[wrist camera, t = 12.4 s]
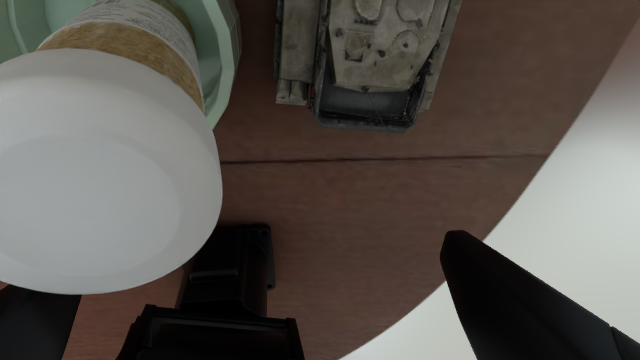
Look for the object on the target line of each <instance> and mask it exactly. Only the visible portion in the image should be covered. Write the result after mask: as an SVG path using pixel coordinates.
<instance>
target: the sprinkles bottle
mask: <svg viewBox="0 0 640 360" xmlns="http://www.w3.org/2000/svg"><path fill="white" fill-rule="evenodd" d="M222 196H223V193H222V178H221V171H220V163H219V157H218V151H217V146H216V141H215V138H214V134H213V131H212V129H211V127H210V125H209V123H208V121H207V119H206V117H205V116H204V101H203V93H202V86H201V79H200V72H199V66H198V59H197V54H196V44H195V33H194V30H193V28H192V26H191V24H190V21H189V19H188V17H187V16H186V14H185V13H184V11H183V10H182V9H181V8H180V7H179V6H178V5H177V4H176V3H175V2H174V1H173V0H97V1H96V2H95V3H93V4H91V5H90V6H89V7H87V8H86V9H85V10H83V11H82V12H81V13H79V14H78V15H77V16H75V17H74V18H73V19H72V20H70V21H69V22H68V23H66V24H65V25H64V26H63V27H61V28H60V29H59V30H57V31H56V32H54V33H53V34H52V35H50V36H49V37H48V38H46V39H45V40H44V41H43V42H42V43H41V44H40V45H39V47H38V48H37V49H36V51H35V52H32V53H28V54H23V55H21V56H18V57H16V58H13V59H11V60H8V61H6V62H4V63H2V64H0V281H3V282H6V283H9V284H12V285H15V286H19V287H23V288H27V289H32V290H36V291H42V292H49V293H57V294H70V295H71V294H99V293H108V292H114V291H120V290H125V289H129V288H133V287H137V286H140V285H143V284H145V283H148V282H151V281H154V280H156V279H158V278H160V277H163V276H164V275H166V274H168V273H170V272H172V271H173V270H175V269H177V268H178V267H180V266H181V265H183V264H184V263H185V262H187V261H188V260H189V259H190V258H191V257H193V256H194V255H195V254H196V253H197V252H198V251H199V250H200V249H201V247H202V246H203V245H204V243H205V242H206V241H207V239H208V238H209V236H210V235H211V233H212V231H213V229H214V228H215V226H216V223H217V220H218V217H219V214H220V210H221V205H222Z"/></svg>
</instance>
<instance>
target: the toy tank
mask: <svg viewBox="0 0 640 360" xmlns="http://www.w3.org/2000/svg"><path fill="white" fill-rule="evenodd" d="M461 3H462V0H277V6H278V7H277V13H276V22H277V20H278V21H280V25H276V26H275V37H276V42H275V45H274V68H273V74H274V78H273V79H274V80H277V99H276V103H279V104H291V105H303V106H305V105H306V103H307V100H308V89H309V85H311V95H310V105H309V107H308V108H307V109H309V110H310V112H311V113H312V114H313V115H314V118H315V119H316V120H317V122H318V123H319V124H320V126H321V127H328V128H341V129H354V130H367V131H380V132H387V133H388V132H394V133H404V132H405V131H407V130H408V129H409V128H410V127H412V126H413V125H414V124H415V121H416V118H417V115H418V113H420V112H422V111H425V110H428V109H429V107H430V104H431V101H432V98H433V95H434V93H431V92H434V90H435V87H436V84H437V81H438V77H439V74H440V71H441V68H442V64H443V61H444V58H445V55H446V51H447V48H448V45H449V42H450V38H451V35H452V32H453V29H454V25H455V22H456V19H457V16H458V12H459V9H460V6H461ZM313 86H314V87H315V88H314V89H313ZM312 90H313V91H314V93H313V96H314V97H313V98H312ZM311 99H313V101H311ZM311 103H312V104H313V111H314V113H313V112H312V110H311V109H310V108H312V107H311ZM403 114H406V115H404V116H403ZM406 116H408V117H406ZM389 117H392V118H389ZM405 117H406V118H405ZM394 118H399V119H394ZM403 118H404V119H403ZM402 119H403V120H402ZM407 119H408V120H407ZM409 121H410V122H409ZM411 124H413V125H411ZM388 135H389V134H388ZM389 137H390V136H389Z"/></svg>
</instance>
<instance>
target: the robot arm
mask: <svg viewBox="0 0 640 360" xmlns="http://www.w3.org/2000/svg"><path fill="white" fill-rule="evenodd" d="M261 231H266V232H261ZM440 262H441V265H442V269H443V272H444V275H445V278H446V281H447V284H448V287H449V290H450V293H451V296H452V299H453V302H454V305H455V308H456V311H457V314H458V317H459V319H460V322H461V324H462V326H463V329H464V331H465V333H466V335H467V338H468V340H469V342H470V344H471V347H472V349H473V351H474V353H475V355H476V358H477V360H640V344H639V343H638V342H636V341H635V340H633V339H631V338H630V337H628V336H627V335H625V334H624V333H622V332H621V331H619V330H618V329H616V328H615V327H610V326H609V324H608V323H607V322H605V321H604V320H602V319H600V318H599V317H597V316H596V315H594V314H593V313H591V312H590V311H588V310H587V309H585V308H583V307H582V306H580V305H579V304H577V303H576V302H574V301H573V300H571V299H570V298H568V297H567V296H565V295H563V294H562V293H560V292H559V291H557V290H556V289H554V288H553V287H551V286H550V285H548V284H546V283H545V282H543V281H542V280H540V279H539V278H537V277H536V276H534V275H533V274H531V273H530V272H528V271H526V270H525V269H523V268H522V267H520V266H519V265H517V264H515V263H514V262H513V261H511V260H509V259H508V258H506V257H505V256H503V255H501V254H500V253H499V252H497V251H496V250H494V249H492V248H491V247H489V246H488V245H486V244H485V243H483V242H482V241H480V240H479V239H477V238H476V237H474V236H472V235H471V234H469V233H468V232H466V231H464V230H453V231H448V232H447V233H446V235H445V238H444V242H443V245H442V249H441V252H440ZM182 266H183V270H184V275H183V279H182V282H181V286H180V289H179V293H178V297H177V300H176V304H175V307H174V308H164V307H156V305H151V304H146V305H145V308H144V310H143V312H142V314H141V316H138V317H137V319H136V321H135V322H134V323H132V324H131V326H130V329H129V332H128V334H127V337H126V339H125V342H124V344H123V347H122V349H121V351H120V353H119V355H118V356H117V358H116V359H115V360H305V358H304V354H303V349H302V345H301V341H300V337H299V332H298V328H297V324H296V319H295V318H286V319H279V318H268V317H267V291H268V290H272V289H274V288H275V273H274V261H273V250H272V239H271V229H270V227H269V226H268V225H265V224H261V225H245V226H230V227H215V228H214V229H213V231H212V233H211V235H210V236H209V238H208V239H207V241H206V242H205V243H204V245H203V246H202V247H201V249H200V250H199V251H198V252H197V253H196V254H195V255H194V256H193V257H191V258H190V259H189V260H188V261H187V262H185V263H184V264H183V265H182ZM81 296H82V294H71V295H70V294H57V293H49V292H42V291H36V290H32V289H27V288H23V287H19V286H15V285H12V284H9V285H8V286H6V287H5V288H3V289H2V290H0V360H61V359H62V357H63V354H64V351H65V348H66V345H67V342H68V339H69V335H70V332H71V329H72V326H73V322H74V319H75V316H76V312H77V309H78V306H79V303H80V299H81Z"/></svg>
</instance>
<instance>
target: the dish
mask: <svg viewBox="0 0 640 360" xmlns="http://www.w3.org/2000/svg"><path fill="white" fill-rule="evenodd" d="M96 1H97V0H0V64H2V63H4V62H6V61H8V60H11V59H13V58H16V57H18V56H21V55H23V54H28V53H32V52H35V51H36V49H37V48H38V47H39V45H40V44H41V43H42V42H43V41H44V40H45V39H46V38H48V37H49V36H50V35H52V34H53V33H54V32H56V31H57V30H59V29H60V28H61V27H63V26H64V25H65V24H66V23H68V22H69V21H70V20H72V19H73V18H74V17H75V16H77V15H78V14H79V13H81V12H82V11H83V10H85V9H86V8H87V7H89V6H90V5H91V4H93V3H95V2H96ZM173 1H174V2H175V3H176V4H177V5H178V6H179V7H180V8H181V9H182V10H183V11H184V13H185V14H186V16H187V17H188V19H189V21H190V24H191V26H192V28H193V30H194V33H195V44H196V54H197V59H198V66H199V72H200V79H201V86H202V93H203V101H204V116H205V117H206V119H207V121H208V123H209V125H210V127H211V129H212V130H213V128H214V127H215V125H216V124H217V122H218V120H219V119H220V117H221V116H222V114H223V112H224V111H225V109H226V108H227V105H228V103H229V99H230V96H231V93H232V89H233V86H234V82H235V79H236V75H237V71H238V67H239V62H240V57H241V52H242V36H241V26H240V17H239V12H238V10H237V7H236V5H235V2H234V0H173Z"/></svg>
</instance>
